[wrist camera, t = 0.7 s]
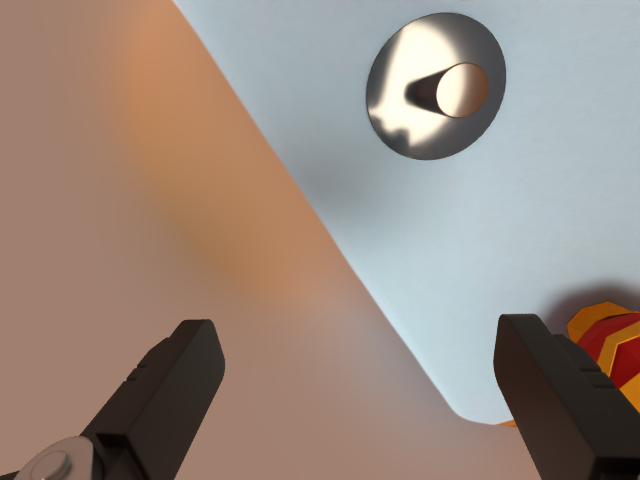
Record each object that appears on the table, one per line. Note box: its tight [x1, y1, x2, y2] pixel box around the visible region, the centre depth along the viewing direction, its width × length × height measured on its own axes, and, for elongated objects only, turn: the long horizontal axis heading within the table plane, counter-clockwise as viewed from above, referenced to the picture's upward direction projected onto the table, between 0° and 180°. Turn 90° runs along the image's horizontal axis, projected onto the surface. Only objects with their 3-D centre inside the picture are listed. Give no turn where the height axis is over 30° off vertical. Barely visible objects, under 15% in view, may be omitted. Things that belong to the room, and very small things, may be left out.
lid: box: [367, 13, 506, 160], centre depth 20 cm, size 9×9×8 cm
